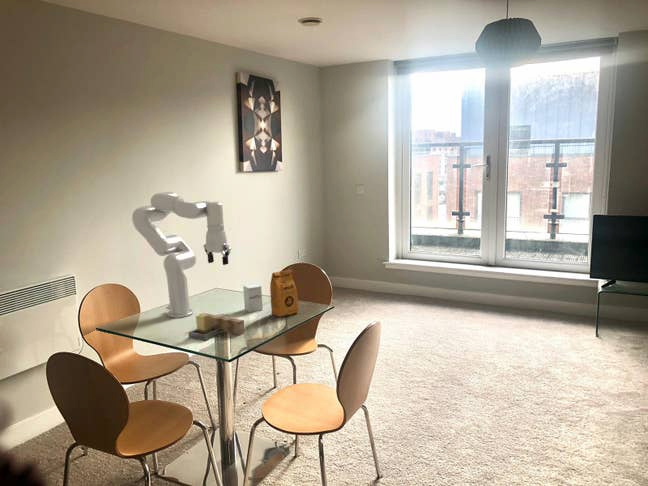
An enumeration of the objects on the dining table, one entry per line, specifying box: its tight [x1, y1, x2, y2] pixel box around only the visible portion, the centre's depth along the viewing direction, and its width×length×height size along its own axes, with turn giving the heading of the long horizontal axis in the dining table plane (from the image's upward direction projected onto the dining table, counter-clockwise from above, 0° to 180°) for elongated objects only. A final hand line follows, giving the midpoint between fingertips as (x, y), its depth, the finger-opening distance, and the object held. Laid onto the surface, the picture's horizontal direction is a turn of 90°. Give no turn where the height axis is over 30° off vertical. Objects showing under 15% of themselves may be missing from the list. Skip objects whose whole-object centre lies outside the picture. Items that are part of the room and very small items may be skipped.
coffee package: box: [269, 269, 299, 317], centre depth 259 cm, size 10×12×22 cm
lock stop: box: [195, 312, 212, 334], centre depth 234 cm, size 4×4×9 cm
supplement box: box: [243, 283, 264, 313], centre depth 271 cm, size 7×7×13 cm
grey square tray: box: [187, 327, 222, 342], centre depth 234 cm, size 10×10×2 cm
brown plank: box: [211, 314, 246, 336], centre depth 240 cm, size 24×3×6 cm, turn 58°
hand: (218, 263), depth 253 cm, fingers open, 9 cm apart
